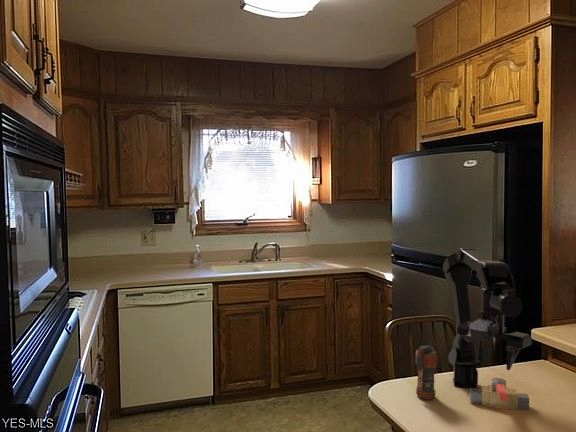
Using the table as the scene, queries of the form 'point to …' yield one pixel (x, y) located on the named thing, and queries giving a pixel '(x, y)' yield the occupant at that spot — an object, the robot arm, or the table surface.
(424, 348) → the grenade
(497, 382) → the lever
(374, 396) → the table surface
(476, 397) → the valve pipe
